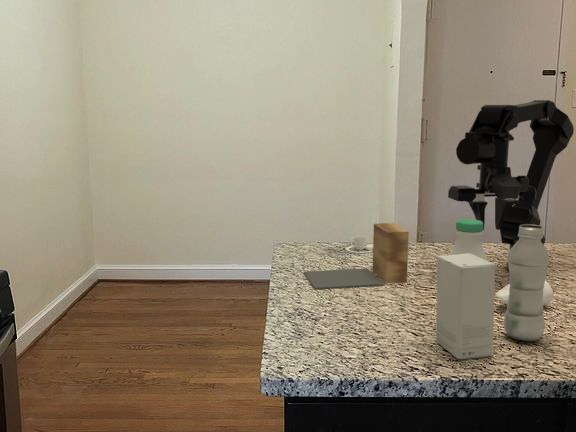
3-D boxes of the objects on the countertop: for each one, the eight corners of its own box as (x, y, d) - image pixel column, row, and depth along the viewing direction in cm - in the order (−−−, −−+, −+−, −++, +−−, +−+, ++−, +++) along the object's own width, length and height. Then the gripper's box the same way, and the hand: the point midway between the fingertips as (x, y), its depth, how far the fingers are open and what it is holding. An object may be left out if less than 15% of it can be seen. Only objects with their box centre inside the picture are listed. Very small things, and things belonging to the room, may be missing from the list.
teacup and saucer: (381, 250, 166) (381, 236, 165) (369, 256, 160) (369, 241, 159) (353, 246, 171) (353, 232, 170) (340, 251, 164) (340, 237, 164)
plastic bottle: (547, 346, 99) (557, 231, 95) (505, 343, 100) (513, 229, 96) (539, 332, 105) (548, 223, 101) (499, 329, 106) (507, 222, 102)
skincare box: (493, 357, 95) (499, 264, 92) (455, 361, 93) (460, 267, 90) (467, 337, 103) (472, 251, 100) (432, 340, 101) (436, 253, 99)
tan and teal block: (392, 270, 144) (393, 222, 142) (406, 282, 135) (408, 231, 132) (372, 271, 144) (373, 223, 141) (385, 283, 134) (387, 232, 132)
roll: (484, 307, 118) (486, 281, 117) (530, 300, 123) (532, 274, 122) (506, 317, 113) (507, 289, 112) (552, 309, 117) (555, 282, 116)
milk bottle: (488, 323, 109) (494, 218, 105) (483, 338, 102) (490, 226, 99) (446, 317, 112) (451, 215, 109) (438, 331, 106) (443, 223, 102)
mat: (366, 269, 145) (366, 268, 145) (383, 285, 132) (384, 283, 132) (303, 273, 142) (303, 271, 142) (314, 289, 130) (314, 287, 130)
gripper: (472, 166, 121) (467, 239, 124) (553, 164, 124) (547, 235, 127) (448, 161, 132) (445, 228, 135) (524, 159, 135) (519, 225, 138)
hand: (489, 229), depth 134 cm, fingers open, 4 cm apart
